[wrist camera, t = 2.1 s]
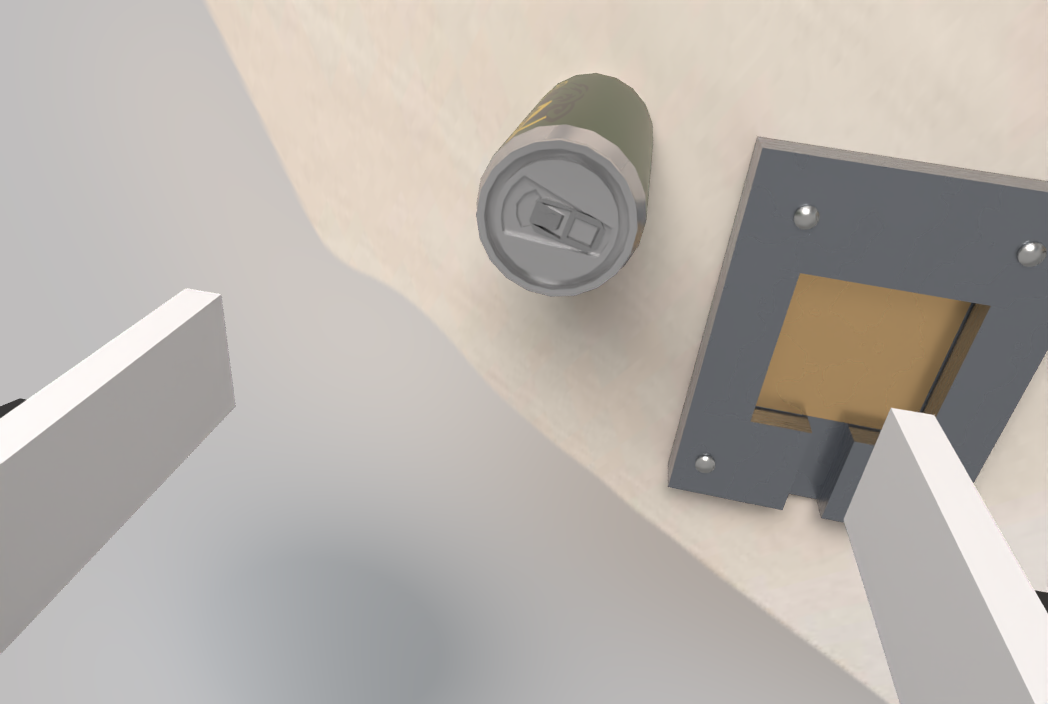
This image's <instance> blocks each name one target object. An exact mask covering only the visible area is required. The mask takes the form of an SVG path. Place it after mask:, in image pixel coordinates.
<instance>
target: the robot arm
mask: <svg viewBox="0 0 1048 704" xmlns="http://www.w3.org/2000/svg"><path fill="white" fill-rule="evenodd" d="M235 406H236V405H235V398H234V390H233V382H232V374H231V366H230V359H229V351H228V343H227V336H226V327H225V320H224V312H223V305H222V296H221V294H217V293H210V292H205V291H199V290H193V289H187V288H186V289H184V290H183V291H181V292H180V293H178V294H177V295H176V296H174V297H173V298H171V299H170V300H169V301H167V302H166V303H164V304H163V305H161V306H160V307H159V308H157V309H156V310H154V311H153V312H151V313H150V314H149V315H147V316H146V317H144V318H143V319H142V320H140V321H139V322H137V323H136V324H135V325H133V326H131V327H130V328H129V329H127V330H126V331H124V332H123V333H122V334H120V335H119V336H117V337H116V338H114V339H113V340H111V341H110V342H109V343H107V344H106V345H104V346H103V347H102V348H100V349H99V350H97V351H96V352H94V353H93V354H92V355H90V356H89V357H87V358H86V359H84V360H83V361H82V362H80V363H79V364H77V365H76V366H74V367H73V368H72V369H70V370H69V371H67V372H66V373H64V374H63V375H62V376H60V377H59V378H57V379H56V380H55V381H53V382H52V383H50V384H49V385H47V386H46V387H44V388H43V389H42V390H40V391H39V392H37V393H36V394H35V395H33V396H32V397H30V398H29V399H27V400H25V399H17V400H15V401H13V402H10V403H8V404H5V405H3V406H0V654H1V653H2V652H3V651H4V650H5V649H6V648H7V647H8V646H9V645H10V644H11V643H12V642H13V641H14V639H16V637H17V636H18V635H19V634H20V633H21V632H22V631H23V630H24V629H25V628H26V627H27V626H28V625H29V624H30V623H31V622H32V621H33V620H34V618H35V617H36V616H37V615H38V614H39V613H40V612H41V611H42V610H43V609H44V608H45V607H46V606H47V605H48V604H49V603H50V602H51V601H52V600H53V599H54V597H55V596H56V595H57V594H58V593H59V592H60V591H61V590H62V589H63V588H64V587H65V586H66V585H67V584H68V583H69V582H70V580H72V578H73V577H74V576H75V575H76V574H77V573H78V572H79V571H80V570H81V569H82V568H83V567H84V566H85V565H86V564H87V563H88V562H89V561H90V559H91V558H92V557H93V556H94V555H95V554H96V553H97V552H98V551H99V550H100V549H101V548H102V547H103V546H104V545H105V543H107V542H108V540H109V539H110V538H111V537H112V536H113V535H114V534H115V533H116V532H117V531H118V530H119V529H120V527H122V526H123V525H124V523H126V521H127V520H128V519H129V518H130V517H131V516H132V515H133V514H134V513H135V512H136V511H137V510H138V509H139V508H140V507H141V506H142V505H143V503H145V501H146V500H147V499H148V498H149V497H150V496H151V495H152V494H153V493H154V492H155V491H156V490H157V489H158V488H159V487H160V486H161V485H162V484H163V482H164V481H165V480H166V479H167V478H168V477H169V476H170V475H171V474H172V473H173V472H174V471H175V470H176V469H177V468H178V466H180V464H181V463H182V462H183V461H184V460H185V459H186V458H187V457H188V456H189V455H190V454H191V453H192V452H193V451H194V450H195V449H196V448H197V447H198V446H199V444H200V443H201V442H202V441H203V440H204V439H205V438H206V437H207V436H208V435H209V434H210V433H211V432H212V431H213V430H214V429H215V427H217V425H218V424H219V423H220V422H221V421H222V420H223V419H224V418H225V417H226V416H227V415H228V414H229V413H230V412H231V411H232V410H233V409H234V408H235ZM843 520H844V523H845V526H846V530H847V533H848V536H849V539H850V543H851V546H852V549H853V552H854V556H855V559H856V562H857V565H858V569H859V572H860V575H861V578H862V581H863V585H864V588H865V591H866V594H867V598H868V601H869V604H870V607H871V611H872V614H873V617H874V620H875V624H876V627H877V630H878V633H879V637H880V640H881V643H882V646H883V650H884V653H885V656H886V659H887V663H888V666H889V669H890V672H891V676H892V679H893V682H894V685H895V689H896V692H897V695H898V698H899V702H900V704H1048V593H1046V592H1040V591H1035V590H1034V589H1033V587H1032V585H1031V583H1030V582H1029V580H1028V578H1027V576H1026V575H1025V573H1024V571H1023V569H1022V568H1021V566H1020V564H1019V562H1018V561H1017V559H1016V557H1015V555H1014V554H1013V552H1012V550H1011V548H1010V547H1009V545H1008V543H1007V541H1006V540H1005V538H1004V536H1003V534H1002V533H1001V531H1000V529H999V527H998V526H997V524H996V522H995V520H994V519H993V517H992V515H991V513H990V512H989V510H988V508H987V506H986V505H985V503H984V501H983V499H982V498H981V496H980V494H979V493H978V491H977V489H976V487H975V486H974V484H973V482H972V480H971V479H970V477H969V475H968V473H967V472H966V470H965V468H964V466H963V465H962V463H961V461H960V459H959V458H958V456H957V454H956V452H955V451H954V449H953V447H952V445H951V444H950V442H949V440H948V438H947V437H946V435H945V433H944V431H943V430H942V428H941V426H940V424H939V423H938V421H937V419H936V417H935V416H934V415H931V414H925V413H919V412H913V411H907V410H901V409H895V408H891V409H890V411H889V413H888V416H887V418H886V420H885V423H884V425H883V427H882V430H881V432H880V434H879V437H878V439H877V442H876V444H875V446H874V449H873V451H872V453H871V456H870V458H869V460H868V463H867V465H866V467H865V470H864V472H863V475H862V477H861V479H860V482H859V484H858V486H857V489H856V491H855V493H854V496H853V498H852V500H851V503H850V505H849V508H848V510H847V512H846V515H845V517H844V519H843Z"/></svg>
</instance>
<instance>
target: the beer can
mask: <svg viewBox="0 0 1048 704" xmlns="http://www.w3.org/2000/svg"><path fill="white" fill-rule="evenodd" d="M652 149H653V126H652V121H651V118H650V115H649V113H648V110H647V107H646V105H645V103H644V102H643V101H642V99H641V98H640V97H639V96H638V94H637V93H636V92H635V91H634V89H633V88H631V87H629V86H628V85H626V84H625V83H623V82H622V81H620V80H619V79H617V78H614V77H610V76H606V75H602V74H598V73H593V74H583V75H576V76H573V77H571V78H569V79H567V80H565V81H562V82H560V83H558V84H557V85H556V86H555V87H554V88H553V89H552V90H551V91H550V92H548V93H547V94H546V95H545V96H544V97H543V98H542V99H541V101H540V102H539V103H538V104H537V105H536V106H535V108H534V109H533V110H532V111H531V112H530V113H529V115H528V116H527V117H526V118H525V119H524V120H523V122H522V123H521V124H520V125H519V126H518V127H517V129H516V130H515V131H514V132H513V133H512V134H511V136H510V137H509V138H508V139H507V140H506V141H505V143H504V144H503V145H502V146H501V147H500V148H499V150H498V151H497V152H496V153H495V154H494V155H493V157H492V159H491V161H490V163H489V164H488V166H487V168H486V170H485V172H484V174H483V176H482V177H481V181H480V186H479V192H478V198H477V213H476V217H477V223H478V230H479V237H480V240H481V242H482V244H483V246H484V248H485V250H486V252H487V254H488V256H489V258H490V260H491V261H492V263H493V264H494V265H495V266H496V267H497V268H498V269H499V270H500V271H501V272H502V273H503V274H504V276H505V277H506V278H508V279H509V280H511V281H513V282H514V283H516V284H518V285H519V286H521V287H523V288H524V289H526V290H528V291H532V292H536V293H540V294H543V295H547V296H575V295H578V294H581V293H584V292H587V291H590V290H593V289H596V288H598V287H599V286H601V285H602V284H603V283H605V282H606V281H607V280H609V279H610V278H611V277H613V276H614V275H616V274H617V272H618V271H619V270H620V269H621V268H622V267H623V266H624V265H625V264H626V262H627V261H628V260H629V258H630V257H631V255H632V254H633V253H634V251H635V250H636V248H637V247H638V246H639V243H640V239H641V236H642V233H643V229H644V226H645V223H646V217H647V205H648V194H649V183H650V172H651V161H652Z"/></svg>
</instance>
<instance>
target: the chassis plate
mask: <svg viewBox="0 0 1048 704" xmlns="http://www.w3.org/2000/svg"><path fill="white" fill-rule="evenodd" d="M1047 350H1048V181H1042V180H1035V179H1029V178H1022V177H1016V176H1009V175H1003V174H996V173H990V172H983V171H977V170H971V169H964V168H958V167H951V166H945V165H938V164H932V163H925V162H919V161H912V160H906V159H899V158H893V157H886V156H880V155H873V154H867V153H860V152H854V151H847V150H841V149H834V148H828V147H821V146H815V145H808V144H802V143H795V142H789V141H782V140H776V139H770V138H763V137H757V140H756V143H755V147H754V151H753V154H752V158H751V162H750V165H749V169H748V173H747V176H746V180H745V184H744V187H743V191H742V195H741V198H740V202H739V206H738V209H737V213H736V217H735V220H734V224H733V228H732V231H731V235H730V239H729V242H728V246H727V250H726V253H725V257H724V261H723V264H722V268H721V272H720V275H719V279H718V283H717V286H716V290H715V294H714V297H713V301H712V305H711V308H710V312H709V315H708V319H707V323H706V326H705V330H704V334H703V337H702V341H701V345H700V348H699V352H698V356H697V359H696V363H695V367H694V370H693V374H692V378H691V381H690V385H689V389H688V392H687V396H686V400H685V403H684V407H683V411H682V414H681V418H680V422H679V425H678V429H677V433H676V436H675V440H674V444H673V447H672V451H671V455H670V458H669V462H668V487H671V488H676V489H681V490H686V491H691V492H696V493H701V494H706V495H711V496H716V497H721V498H726V499H731V500H735V501H740V502H745V503H750V504H755V505H760V506H765V507H770V508H775V509H780V510H783V507H784V505H785V502H786V500H787V497H788V494H794V495H799V496H804V497H809V498H814V499H816V500H817V503H818V507H819V511H820V515H821V518H824V519H829V520H834V521H839V522H844V520H843V519H844V517H845V515H846V512H847V510H848V508H849V505H850V503H851V500H852V498H853V496H854V493H855V491H856V489H857V486H858V484H859V482H860V479H861V477H862V475H863V472H864V470H865V467H866V465H867V463H868V460H869V458H870V456H871V453H872V451H873V449H874V446H875V444H876V442H877V439H878V437H879V434H880V432H881V430H882V427H883V425H884V423H885V420H886V418H887V416H888V413H889V411H890V409H891V408H895V409H901V410H907V411H913V412H919V413H925V414H931V415H934V416H935V417H936V419H937V421H938V423H939V424H940V426H941V428H942V430H943V431H944V433H945V435H946V437H947V438H948V440H949V442H950V444H951V445H952V447H953V449H954V451H955V452H956V454H957V456H958V458H959V459H960V461H961V463H962V465H963V466H964V468H965V470H966V472H967V473H968V475H969V477H970V479H971V480H972V482H973V483H974V481H975V479H976V478H977V476H978V474H979V472H980V470H981V469H982V467H983V465H984V463H985V461H986V460H987V458H988V456H989V454H990V452H991V451H992V449H993V447H994V445H995V443H996V442H997V440H998V438H999V436H1000V434H1001V433H1002V431H1003V429H1004V427H1005V426H1006V424H1007V422H1008V420H1009V418H1010V417H1011V415H1012V413H1013V411H1014V409H1015V408H1016V406H1017V404H1018V402H1019V400H1020V399H1021V397H1022V395H1023V393H1024V391H1025V390H1026V388H1027V386H1028V384H1029V382H1030V381H1031V379H1032V377H1033V375H1034V373H1035V372H1036V370H1037V368H1038V366H1039V364H1040V363H1041V361H1042V359H1043V357H1044V355H1045V354H1046V352H1047Z"/></svg>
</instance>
